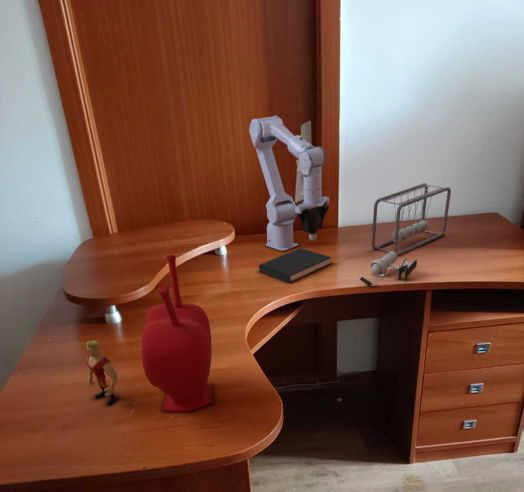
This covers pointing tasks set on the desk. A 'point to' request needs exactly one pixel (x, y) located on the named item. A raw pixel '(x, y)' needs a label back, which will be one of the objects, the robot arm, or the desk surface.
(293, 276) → the notebook
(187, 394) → the novelty television
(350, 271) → the desk surface
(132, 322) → the desk surface
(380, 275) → the clip-on lamp
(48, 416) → the desk surface
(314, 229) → the light bulb
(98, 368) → the action figure
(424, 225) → the newton's cradle
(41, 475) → the desk surface
